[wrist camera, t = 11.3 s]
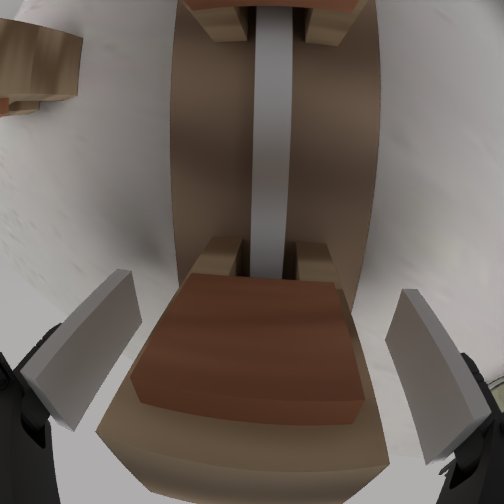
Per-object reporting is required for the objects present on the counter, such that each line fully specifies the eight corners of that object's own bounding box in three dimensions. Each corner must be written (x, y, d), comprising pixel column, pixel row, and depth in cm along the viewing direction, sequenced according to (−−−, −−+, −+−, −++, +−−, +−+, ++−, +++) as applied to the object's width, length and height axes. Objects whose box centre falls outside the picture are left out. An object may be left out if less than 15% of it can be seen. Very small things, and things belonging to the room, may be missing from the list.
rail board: (196, -50, 7) (171, -90, 3) (357, -47, 7) (376, -88, 3) (196, 352, 18) (178, 403, 14) (329, 362, 17) (336, 416, 13)
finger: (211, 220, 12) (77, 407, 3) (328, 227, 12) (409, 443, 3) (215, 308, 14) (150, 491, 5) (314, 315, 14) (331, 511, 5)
